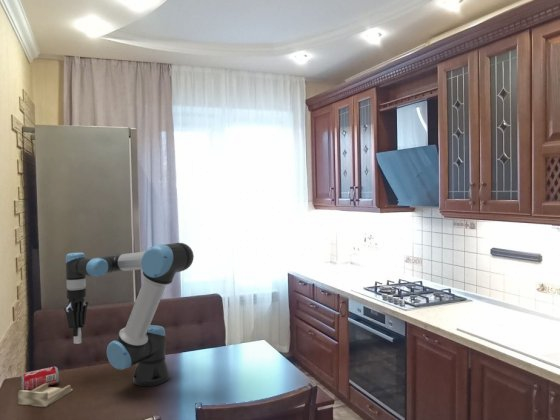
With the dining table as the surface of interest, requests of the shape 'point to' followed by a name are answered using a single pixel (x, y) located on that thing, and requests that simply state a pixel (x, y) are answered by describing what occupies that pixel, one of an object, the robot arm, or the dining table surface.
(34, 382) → the soda can
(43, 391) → the tray
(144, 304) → the robot arm
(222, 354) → the dining table surface
